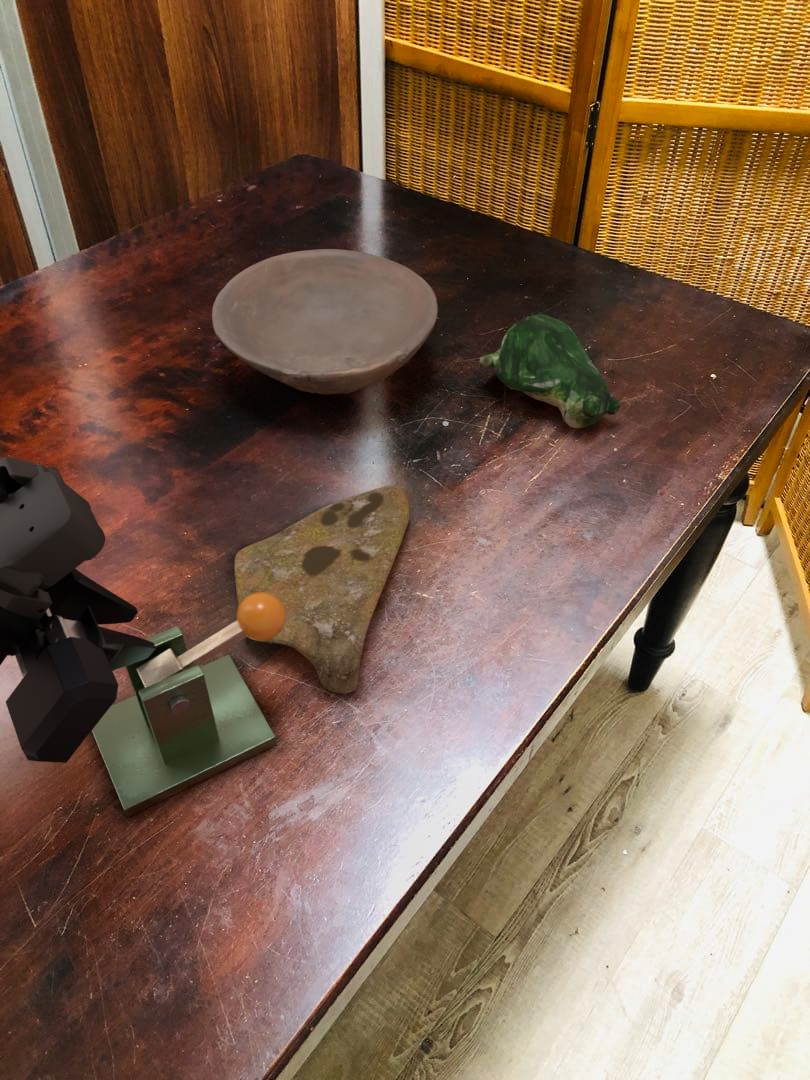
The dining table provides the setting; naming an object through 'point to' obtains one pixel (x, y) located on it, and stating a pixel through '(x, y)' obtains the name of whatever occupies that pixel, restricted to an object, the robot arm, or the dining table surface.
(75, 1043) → the dining table surface
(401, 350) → the bowl
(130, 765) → the switch bracket
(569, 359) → the figurine
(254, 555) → the decorative stone
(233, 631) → the switch lever
